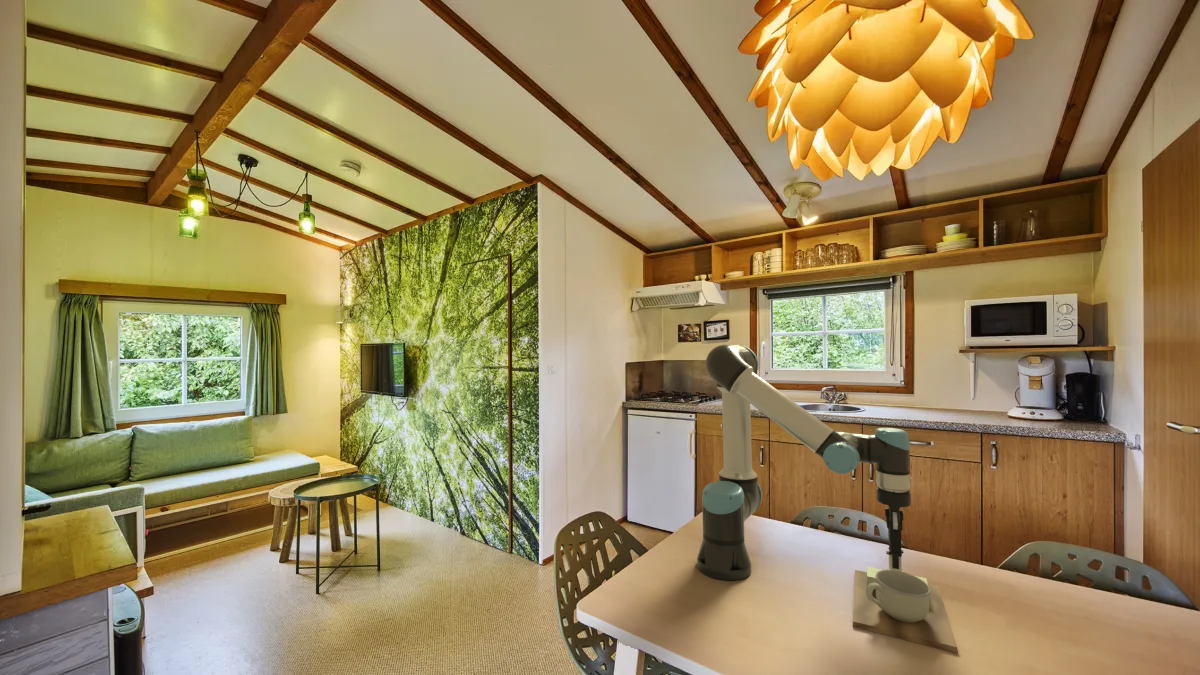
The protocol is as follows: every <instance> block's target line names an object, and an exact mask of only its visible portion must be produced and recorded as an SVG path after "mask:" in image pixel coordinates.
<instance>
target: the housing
mask: <svg viewBox="0 0 1200 675" xmlns="http://www.w3.org/2000/svg"><path fill="white" fill-rule="evenodd" d="M880 570H883V569H881V568H876V567H872V566H866V572H867V586H868V585H869V584H870V583H873V582H874V583H876V577H875V575H876V573H877V572H878V571H880ZM914 576H915V577H918V578H919V579H921V580H923V581H924V582H925V583H926V584H928V579H927V578H926V577H922V576H917V575H914ZM928 585H929V584H928ZM929 604H930V603H929Z"/></svg>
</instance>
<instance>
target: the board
mask: <svg viewBox="0 0 1200 675" xmlns="http://www.w3.org/2000/svg"><path fill="white" fill-rule="evenodd" d="M853 578H854V579H853V580H854V581H853V582H854V583H853V604H852V605H853V606H852V607H853V609H852V611H853V612H852V613H853V614H852V627H854V628H857V629H861V630H865V631H870V632H873V633H876V634H880V635H885V636H889V637H892V638H896V639H901V640H905V641H908V642H913V643H916V644H921V645H924V646H927V647H932V648H936V649H939V650H943V651H947V652H951V653H955V654H958V645H957V642H956V639H955V636H954V632H953V629H952V626H951V623H950V619H949V617H948V616H949V615H948V613H947V610H946V607H945V604H944V601H943V597H942V594H941V591H940V588H939V586H937V585H933V584H928V586H929V587H930V589H931V592H930V604H929V612H928V615H927V617H926V618H924V619H923V620H920V621H918V622H913V623H909V622H903V621H900V620H897V619H895V618H893V617H891V616H890V615H888V614H887V613H886V612H885V610H883V609H881V608H880V607H879V606H878V605H877V604H875V603H874V602H873V601H871V600H870V599H869V598H868V596H867V594H866V589H867V571H863V570H857V569H854V577H853ZM873 583H874V582H873ZM872 596H873V597H874V598H875V599H877V598H876V589H874V590H873V592H872Z"/></svg>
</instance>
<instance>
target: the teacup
mask: <svg viewBox="0 0 1200 675" xmlns="http://www.w3.org/2000/svg"><path fill="white" fill-rule="evenodd" d="M915 576H916V575H912V574H910V573H907V572H903V571H902V572H901V571H896V570H889V569H882V570H880V571H878V572H877V573H876V575H875V577H876V583H870V584H869V585H868V586H867V589H866V594H867V596H868V598H869V599H870V600H871V601H873V602H874V603H875V604H877V605H878V606H879V607H880V608H881V609H883V610H885V612H886V613H887V614H888V615H890V616H891V617H893V618H895V619H897V620H900V621H903V622H909V623H913V622H918V621H920V620H923V619H924V618H926V617H927V615H928V612H929V603H930V592H931V589H930V587H929V586H928V585H929V584H926V583H925V582H924V581H923V580H921V579H919V578H918V577H919V576H918V577H915ZM874 589H876V598H877V599H875V598H874V597H873V596H872V592H873V590H874Z"/></svg>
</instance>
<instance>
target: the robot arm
mask: <svg viewBox="0 0 1200 675" xmlns="http://www.w3.org/2000/svg"><path fill="white" fill-rule="evenodd" d="M705 368H706V372H707V373H708V375H709V377H710V378H711V379H712V380H713V381H714V382H715V383H716V388H717V389H718V390H719V391H720V392H721V410H722V411H721V412H722V414H721V415H722V442H723V443H722V444H723V446H722V447H723V453H722V454H723V468H721V470H720V471H719V473H718V477H719V478H718V481H715V482H714V481H713V482H710V483H708V484H706V485H705V486H704V488H703V489H702V497H701V503H702V504H701V505H702V540H701V543H700V547H699V551H698V554H697V557H696V560H697V561H696V563H697V564H696V566H697V568H698V570H699V571H700V572H701V573H702V574H704V576H705V575H706V576H708V577H710V578H713V579H716V580H721V581H739V580H743V579H746V578H748V577H749V576H751V574H752V562H751V559H750V556H749V552H748V550H747V547H746V544H745V521H746V520H748V518H750V517H751V516H753V514H755V513H756V512H757V511H758V509H759V508H760V506H761V504H762V500H763V492H762V491H763V490H762V488H761V485H760V484H759V482H758V473H757V472H756V471H755V470H754V469H753V457H752V456H753V454H752V452H753V450H752V424H751V421H752V420H751V419H752V418H751V416H752V415H751V406H753V407H754V408H756V409H757V410H758V411H760V412H761V413H762V414H763V415H765V416H766V417H767V418H769V419H770V420H771V421H773V422H774V423H775V424H777V425H778V426H780V428H782V429H783V430H784V431H785V432H787V433H789V435H792V437H794V438H795V439H796V440H798V442H800V443H801V444H803V445H804V446H806V448H808V449H810V451H812V452H813V453H815V455H817V456H818V457H819V458H821V459H822V460H823V461H824V464H825V465H826V467H827V468H828V469H829V470H830V471H832V472H833V473H836V474H839V475H845V474H849V473H851V472H853V471H854V470H856V468H858V466H859V464H860V463H868V464H875V466H876V469H875V480H876V481H875V483H876V485H877V487H876V500H877V502H879V503H880V504H882V505H885V506H887V507H884V516H885V522H886V528H887V530H888V531H887V532H888V541H887V542H888V543H887V545H888V547H887V548H888V550H886V552H885V553H886V555H888V570H896V571H901V572H903V570H902V569H903V568H902V555H903V554H904V550H903V549H902V531H903V521H904V513H903V509H900V508H909V507H910V506H911V504H912V498H911V497H912V496H911V495H912V494H911V491H910V489H911V482H913V481H914V478H913V477H912V476H911V470H910V469H911V464H910V463H911V462H910V460H911V458H910V455H911V452H910V450H911V448H910V447H911V446H910V439H909V434H908V432H907V431H905V430H904V429H899V428H893V427H879V428H878V427H877V428H876V429H875V432H874V434H861V433H853V432H852V433H851V432H843V431H835V430H834V429H832V428H831V427H829V426H828V425H827V424H826V423H824V422H823V421H821V420H820V419H819V418H817V417H816V416H815V415H813V414H812V413H810V412H809V411H807V410H806V409H805V408H803V407H802V406H801V405H799V404H797V403H796V402H795V401H794V400H792V399H791V398H789V397H788V396H786V395H785V394H784V393H782V392H781V391H780V390H778V389H777V388H775V387H774V386H773V385H772V384H770V383H768V382H767V381H766V380H765V379H763V378H762V377H760V376H759V375H757V372H758V369H759V359H758V357H757V355H756V353H755V352H754V351H753V350H752V349H751V348H749V347H747V346H745V345H742V344H720V345H717V346H715V347H714V348H712V349H711V350H710V351H709V352H708V354H707V356H706V359H705Z"/></svg>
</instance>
